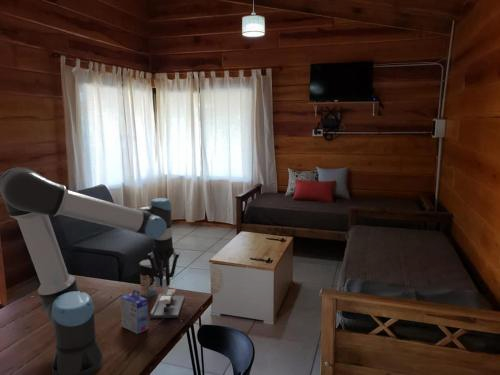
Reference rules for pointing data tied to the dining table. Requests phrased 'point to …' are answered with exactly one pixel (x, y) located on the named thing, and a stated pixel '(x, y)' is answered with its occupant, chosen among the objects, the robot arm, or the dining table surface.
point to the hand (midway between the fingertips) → (165, 292)
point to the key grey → (168, 293)
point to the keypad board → (167, 308)
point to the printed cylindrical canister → (147, 279)
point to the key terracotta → (173, 291)
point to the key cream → (165, 300)
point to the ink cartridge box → (134, 312)
